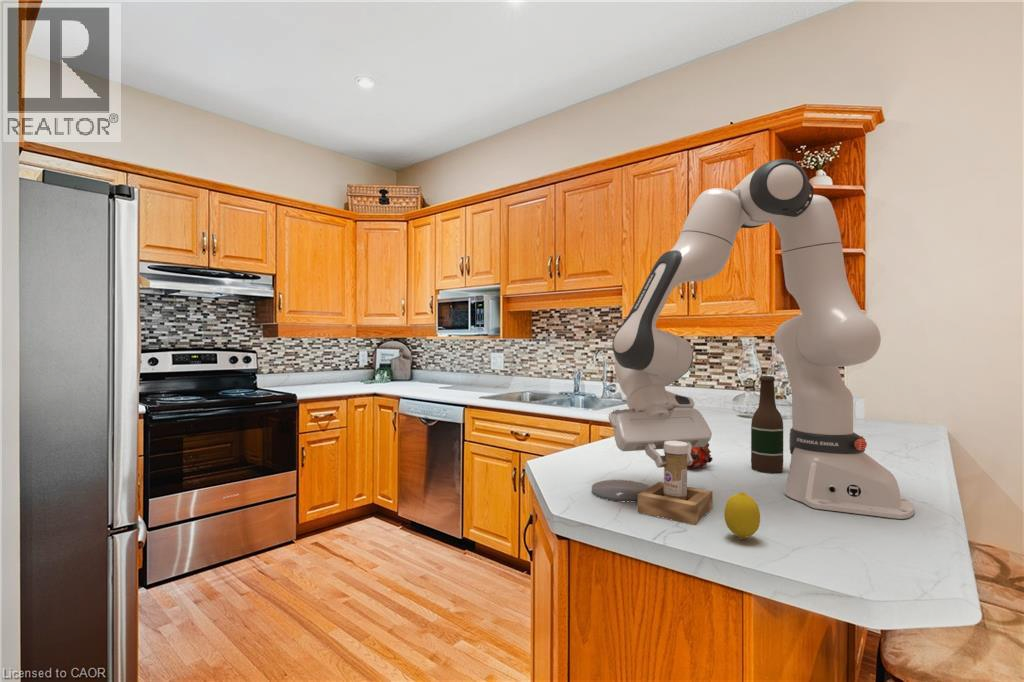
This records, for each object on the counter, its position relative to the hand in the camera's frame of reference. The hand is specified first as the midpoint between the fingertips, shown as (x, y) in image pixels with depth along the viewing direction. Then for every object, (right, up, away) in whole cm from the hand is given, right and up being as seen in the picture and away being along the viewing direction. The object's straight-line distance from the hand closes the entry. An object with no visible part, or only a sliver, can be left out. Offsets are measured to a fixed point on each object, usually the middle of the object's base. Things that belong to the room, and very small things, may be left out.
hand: (675, 465), depth 102 cm
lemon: (+7, -9, -14) cm, 18 cm away
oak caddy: (0, -9, 0) cm, 9 cm away
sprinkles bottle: (0, -9, 0) cm, 9 cm away
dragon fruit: (+16, -9, +34) cm, 38 cm away
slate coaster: (-8, -9, +12) cm, 17 cm away
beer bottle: (+33, -9, +31) cm, 46 cm away
